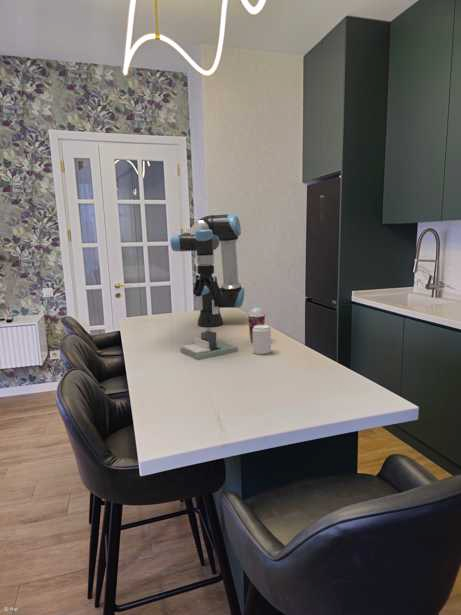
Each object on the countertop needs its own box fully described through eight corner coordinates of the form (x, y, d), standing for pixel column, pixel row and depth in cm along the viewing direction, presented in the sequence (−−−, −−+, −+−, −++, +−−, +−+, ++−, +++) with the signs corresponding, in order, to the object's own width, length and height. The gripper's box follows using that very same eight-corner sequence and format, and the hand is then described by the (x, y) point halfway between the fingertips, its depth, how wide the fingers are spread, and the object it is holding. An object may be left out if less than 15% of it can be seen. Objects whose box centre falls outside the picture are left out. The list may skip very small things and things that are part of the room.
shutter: (195, 345, 188) (195, 337, 187) (210, 351, 177) (210, 342, 177) (182, 347, 184) (182, 339, 183) (196, 354, 173) (196, 345, 173)
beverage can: (269, 355, 176) (269, 328, 174) (251, 354, 178) (251, 328, 175) (271, 350, 184) (271, 324, 182) (254, 349, 185) (253, 324, 183)
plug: (210, 349, 188) (210, 326, 186) (216, 351, 184) (215, 328, 182) (201, 351, 185) (200, 328, 183) (207, 353, 181) (206, 330, 179)
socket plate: (218, 344, 197) (218, 340, 197) (237, 351, 184) (237, 346, 184) (180, 352, 185) (180, 347, 185) (198, 360, 172) (197, 355, 172)
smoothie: (265, 339, 203) (264, 300, 199) (265, 343, 195) (264, 303, 191) (249, 339, 204) (248, 300, 200) (248, 344, 196) (247, 303, 192)
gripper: (184, 264, 186) (186, 309, 190) (213, 266, 166) (215, 317, 169) (198, 263, 190) (200, 307, 194) (228, 265, 170) (229, 314, 174)
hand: (207, 311), depth 182 cm, fingers open, 13 cm apart
